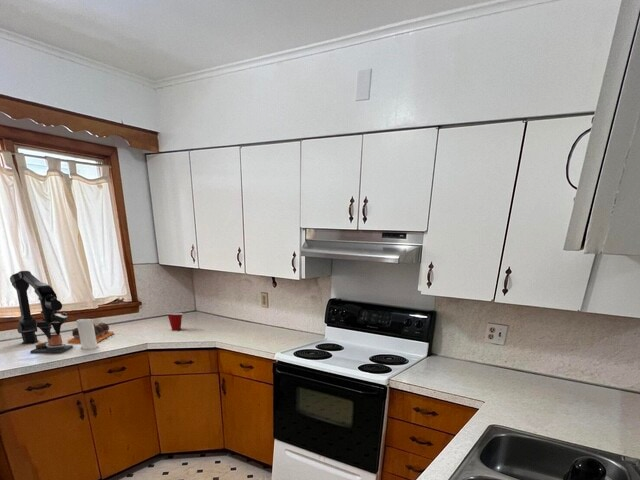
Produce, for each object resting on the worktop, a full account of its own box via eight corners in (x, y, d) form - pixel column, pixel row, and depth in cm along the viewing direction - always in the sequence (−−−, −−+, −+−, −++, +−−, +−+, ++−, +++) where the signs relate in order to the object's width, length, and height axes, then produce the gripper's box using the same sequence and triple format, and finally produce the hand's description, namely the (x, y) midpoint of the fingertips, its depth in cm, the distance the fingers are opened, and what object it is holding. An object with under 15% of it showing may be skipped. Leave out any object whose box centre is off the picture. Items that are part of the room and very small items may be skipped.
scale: (30, 353, 234) (28, 348, 233) (44, 347, 247) (43, 342, 246) (60, 353, 235) (59, 348, 234) (73, 347, 248) (72, 342, 247)
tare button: (37, 346, 239) (37, 343, 238) (40, 345, 241) (39, 342, 240) (42, 346, 239) (41, 343, 238) (45, 345, 241) (44, 342, 241)
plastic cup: (187, 329, 304) (186, 312, 300) (175, 332, 296) (173, 314, 291) (177, 327, 310) (175, 310, 305) (165, 329, 301) (163, 312, 296)
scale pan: (34, 347, 235) (33, 346, 235) (44, 342, 245) (44, 341, 245) (60, 347, 236) (60, 346, 236) (69, 343, 246) (69, 342, 246)
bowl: (46, 345, 237) (44, 336, 235) (52, 342, 243) (50, 334, 241) (58, 345, 237) (56, 336, 235) (64, 343, 243) (62, 334, 242)
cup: (91, 349, 245) (85, 321, 239) (78, 348, 247) (72, 320, 241) (100, 346, 253) (95, 319, 247) (88, 345, 254) (83, 318, 248)
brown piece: (88, 333, 283) (85, 320, 280) (113, 333, 285) (111, 321, 282) (67, 343, 258) (65, 329, 254) (96, 343, 259) (93, 329, 256)
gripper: (54, 311, 224) (60, 341, 230) (71, 306, 241) (77, 333, 248) (32, 311, 224) (39, 340, 230) (51, 306, 241) (57, 333, 247)
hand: (54, 337), depth 238 cm, fingers open, 9 cm apart
